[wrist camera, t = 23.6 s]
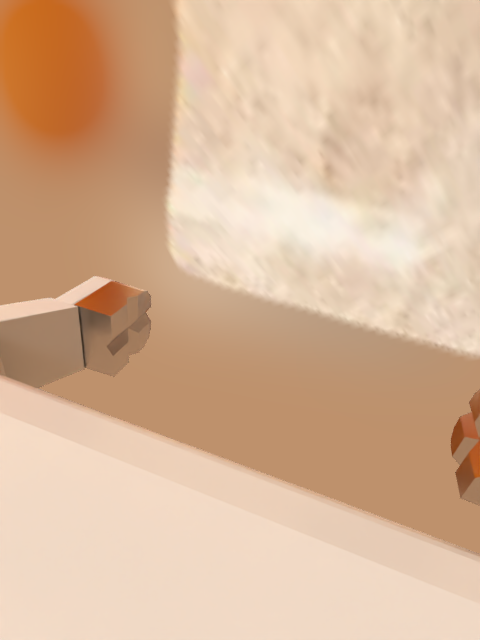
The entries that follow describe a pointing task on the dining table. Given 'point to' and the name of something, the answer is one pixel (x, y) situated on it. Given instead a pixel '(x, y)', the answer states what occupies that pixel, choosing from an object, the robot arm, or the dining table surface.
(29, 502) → the robot arm
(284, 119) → the dining table surface
